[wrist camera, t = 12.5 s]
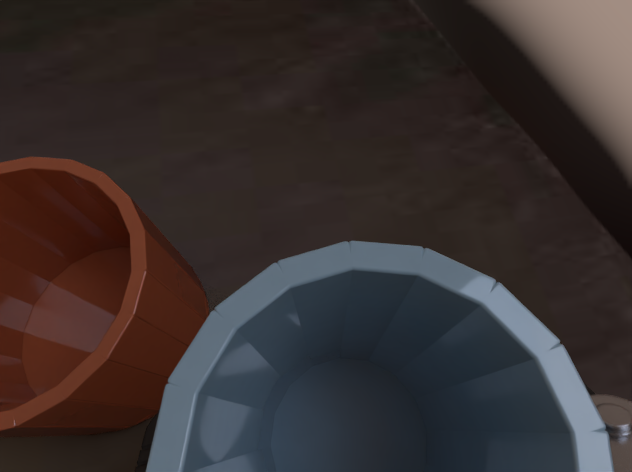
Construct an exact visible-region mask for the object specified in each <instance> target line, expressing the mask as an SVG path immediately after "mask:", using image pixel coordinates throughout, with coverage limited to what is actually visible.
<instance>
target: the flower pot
mask: <svg viewBox="0 0 632 472" xmlns="http://www.w3.org/2000/svg"><path fill="white" fill-rule="evenodd" d="M208 316H209V308H208V301H207V298H206V294H205V291H204V288H203V286H202V284H201V282H200V280H199V278H198V277H197V275H196V274H195V272H194V270H193V268H192V267H191V266H190V265H189V264H188V262H187V261H186V260H185V259H184V258H183V257H182V256H181V254H180V253H179V252H178V251H177V250H176V249H175V248H174V247H173V245H172V244H171V243H170V242H169V241H168V240H167V239H166V237H165V236H164V235H163V234H162V233H161V232H160V231H159V229H158V228H157V227H156V226H155V225H154V224H153V223H152V221H151V220H150V219H149V218H148V217H147V216H146V215H145V213H144V212H143V211H142V210H141V209H140V208H139V207H138V206H137V204H136V203H135V202H134V201H133V200H132V199H131V198H130V196H129V195H128V194H127V193H125V192H124V191H123V190H122V189H121V188H120V187H119V186H118V185H117V184H116V183H115V182H114V181H113V180H112V179H111V178H109V177H108V176H107V175H106V174H104V172H101V171H99V170H96V169H94V168H91V167H89V166H86V165H84V164H81V163H79V162H77V161H74V160H70V159H58V158H44V157H27V158H22V159H16V160H11V161H6V162H1V163H0V438H4V437H37V436H70V435H96V434H101V433H108V432H114V431H119V430H123V429H126V428H129V427H132V426H134V425H137V424H139V423H141V422H143V421H145V420H147V419H149V418H151V417H152V416H154V415H155V414H157V412H158V411H159V409H160V406H161V402H162V397H163V393H164V388H165V386H166V384H168V378H169V377H170V375H171V374H172V372H173V370H174V369H175V367H176V366H177V364H178V363H179V361H180V359H181V358H182V356H183V355H184V353H185V352H186V350H187V349H188V347H189V345H190V344H191V342H192V341H193V339H194V338H195V336H196V334H197V333H198V331H199V330H200V328H201V327H202V325H203V323H204V322H205V320H206V319H207V317H208Z"/></svg>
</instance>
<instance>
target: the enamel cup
mask: <svg viewBox="0 0 632 472" xmlns="http://www.w3.org/2000/svg"><path fill="white" fill-rule="evenodd" d="M214 310H215V311H212V312H211V313H210V314H209V316H208V317H207V319H206V320H205V322H204V323H203V325H202V327H201V328H200V330H199V331H198V333H197V334H196V336H195V338H194V339H193V341H192V342H191V344H190V345H189V347H188V349H187V350H186V352H185V353H184V355H183V356H182V358H181V359H180V361H179V363H178V364H177V366H176V367H175V369H174V370H173V372H172V374H171V375H170V377H169V378H168V384H166V386H165V388H164V393H163V397H162V402H161V406H160V410H159V415H158V419H157V424H156V428H155V432H154V437H153V441H152V446H151V450H150V454H149V459H148V463H147V468H146V472H614V467H613V460H612V453H611V447H610V440H609V434H608V432H607V431H605V429H606V425H605V423H604V421H603V420H602V418H601V416H600V414H599V412H598V410H597V408H596V406H595V404H594V402H593V400H592V399H591V397H590V395H589V393H588V391H587V389H586V387H585V385H584V383H583V381H582V379H581V377H580V376H579V374H578V372H577V370H576V368H575V366H574V364H573V362H572V360H571V358H570V356H569V355H568V353H567V351H566V349H565V347H564V346H563V345H562V344H559V343H560V340H559V339H558V338H557V337H556V336H555V335H554V334H553V333H552V332H551V331H550V330H549V329H548V328H547V327H546V326H545V325H544V324H543V323H542V322H541V321H539V320H538V319H537V318H536V317H535V316H534V315H533V314H532V313H531V312H530V311H529V310H528V309H527V308H526V307H525V306H524V305H523V304H522V303H521V302H520V301H519V300H518V299H517V298H515V297H514V296H513V295H512V294H511V293H510V292H509V291H508V290H507V289H506V288H505V287H504V286H503V285H502V284H501V283H499V282H496V280H495V279H493V278H491V277H489V276H487V275H485V274H482V273H480V272H478V271H476V270H474V269H472V268H469V267H467V266H465V265H463V264H461V263H459V262H456V261H454V260H452V259H450V258H448V257H446V256H443V255H441V254H439V253H437V252H435V251H433V250H430V249H428V248H424V249H423V247H421V246H410V245H398V244H386V243H374V242H361V241H350V242H349V243H348V242H347V241H345V242H341V243H338V244H334V245H331V246H327V247H324V248H320V249H317V250H313V251H310V252H307V253H303V254H300V255H296V256H293V257H289V258H286V259H282V260H279V261H278V262H277V263H273V264H272V265H270V266H269V267H268V268H266V269H265V270H264V271H262V272H261V273H260V274H258V275H257V276H256V277H254V278H253V279H252V280H250V281H249V282H248V283H246V284H245V285H244V286H242V287H241V288H240V289H238V290H237V291H236V292H234V293H233V294H232V295H230V296H229V297H228V298H226V299H225V300H224V301H223V302H221V303H220V304H219V305H217V306H216V307H215V308H214Z"/></svg>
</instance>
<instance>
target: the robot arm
mask: <svg viewBox="0 0 632 472" xmlns="http://www.w3.org/2000/svg"><path fill="white" fill-rule="evenodd" d="M584 385H585V384H584ZM585 387H586V389H587V391H588V393H589V395H590V397H591V399H592V400H593V402H594V404H595V406H596V408H597V410H598V412H599V414H600V416H601V418H602V420H603V421H604V423H605V425H606V429H605V431H607V432H608V434H609V440H610V447H611V453H612V460H613V467H614V472H632V402H631V401H628V400H626V399H623V398H620V397H616V396H612V395H604V394H595V393H594V392H593V391H592V390H591V389H589V388H588V387H587V386H586V385H585ZM159 410H160V409H159ZM158 415H159V411H158V412H157V414H156V415H155V416H154V418H153V419H152V421H151V422H150V424H149V425H148V426H147V428H146V432H145V436H144V439H143V443H142V450H140V454H139V458H138V461H137V464H138V466H137V467H136V469H135V472H146V468H147V463H148V459H149V454H150V450H151V446H152V441H153V437H154V432H155V428H156V424H157V419H158Z"/></svg>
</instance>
